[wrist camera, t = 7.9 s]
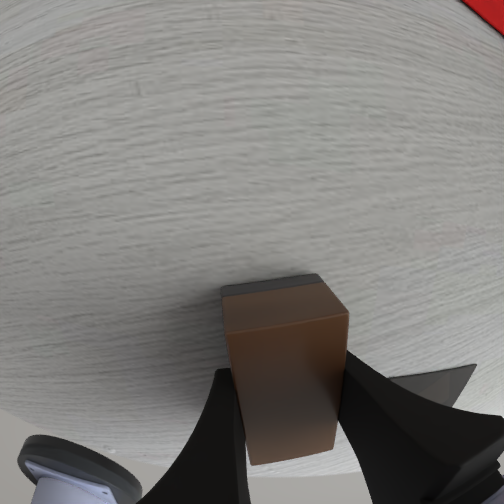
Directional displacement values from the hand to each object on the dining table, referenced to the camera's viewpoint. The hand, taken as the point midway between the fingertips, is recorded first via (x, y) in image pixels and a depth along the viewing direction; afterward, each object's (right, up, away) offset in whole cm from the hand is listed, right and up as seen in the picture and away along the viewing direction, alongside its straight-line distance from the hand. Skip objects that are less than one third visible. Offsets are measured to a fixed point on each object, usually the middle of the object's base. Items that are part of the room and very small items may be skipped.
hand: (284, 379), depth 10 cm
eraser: (0, 0, +1) cm, 1 cm away
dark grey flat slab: (+9, -5, +4) cm, 11 cm away
